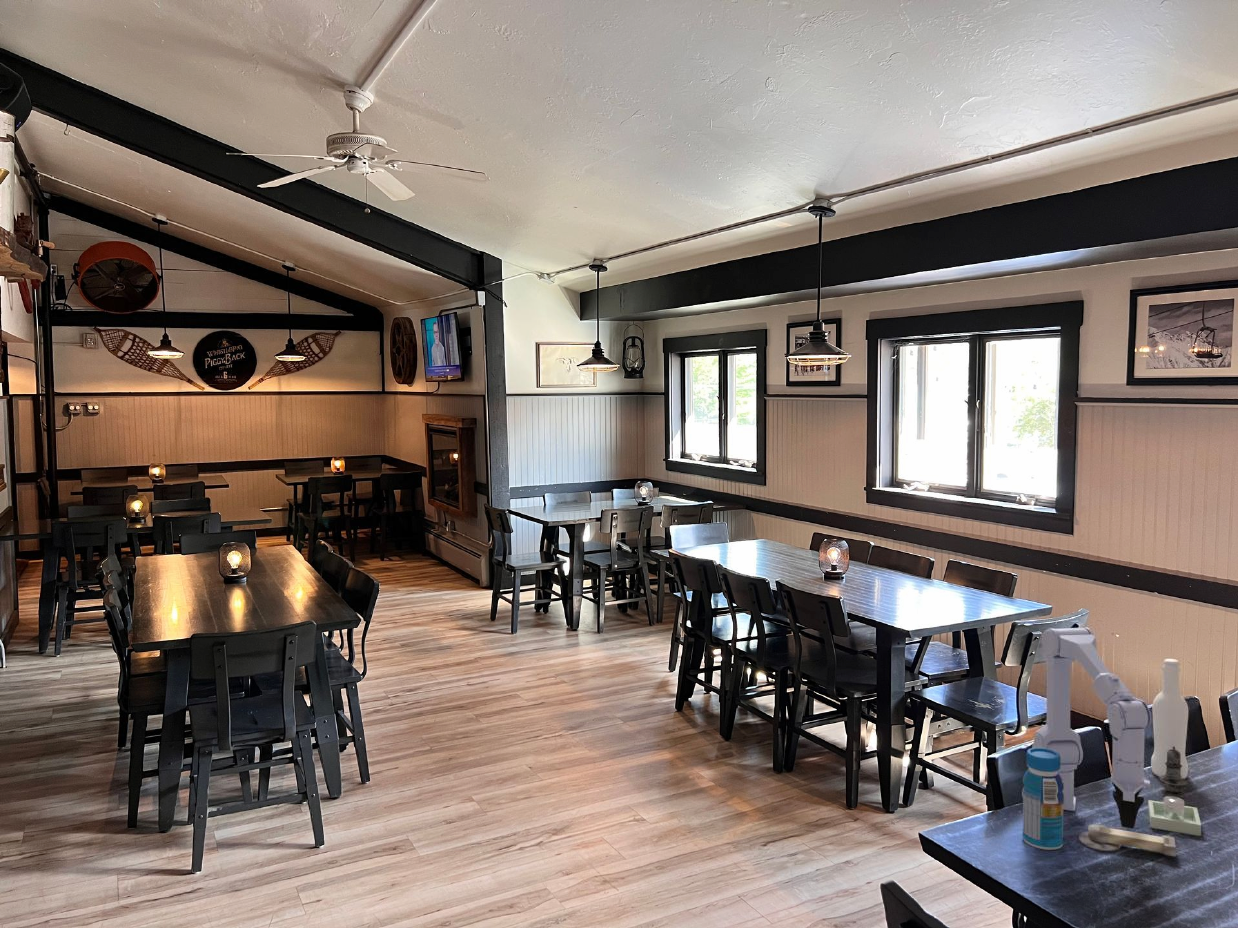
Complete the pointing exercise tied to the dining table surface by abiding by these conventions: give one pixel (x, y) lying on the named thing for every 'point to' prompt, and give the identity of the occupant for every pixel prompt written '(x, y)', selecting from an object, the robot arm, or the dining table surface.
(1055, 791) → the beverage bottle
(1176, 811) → the piston stop
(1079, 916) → the dining table surface
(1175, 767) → the dark grey tiered tower
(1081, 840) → the crank base
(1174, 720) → the bottle
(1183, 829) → the tray
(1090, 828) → the beige flat bar
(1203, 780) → the dining table surface
